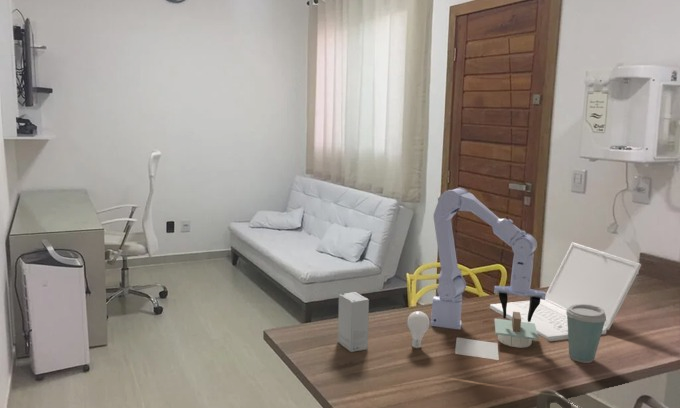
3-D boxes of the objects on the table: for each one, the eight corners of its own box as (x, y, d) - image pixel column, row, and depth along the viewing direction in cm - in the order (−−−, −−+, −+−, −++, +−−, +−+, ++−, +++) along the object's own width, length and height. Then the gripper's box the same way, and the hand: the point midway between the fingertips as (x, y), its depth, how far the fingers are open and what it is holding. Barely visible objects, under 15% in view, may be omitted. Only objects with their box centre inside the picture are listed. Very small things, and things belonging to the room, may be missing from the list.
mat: (454, 355, 161) (454, 353, 160) (456, 339, 172) (456, 337, 172) (498, 361, 158) (498, 360, 158) (497, 344, 169) (497, 343, 169)
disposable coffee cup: (580, 368, 156) (587, 316, 154) (552, 352, 166) (558, 303, 163) (608, 363, 160) (616, 313, 158) (579, 348, 170) (585, 300, 168)
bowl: (498, 346, 169) (499, 333, 168) (497, 333, 178) (498, 321, 177) (532, 350, 166) (533, 337, 166) (529, 338, 176) (530, 326, 175)
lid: (495, 334, 167) (497, 319, 166) (494, 320, 178) (495, 306, 178) (538, 340, 164) (540, 325, 163) (534, 325, 176) (536, 311, 175)
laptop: (489, 308, 201) (495, 245, 197) (566, 301, 214) (573, 241, 210) (548, 342, 174) (557, 270, 170) (632, 331, 187) (642, 263, 183)
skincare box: (368, 349, 161) (371, 299, 159) (349, 353, 158) (352, 302, 156) (353, 338, 168) (356, 290, 166) (335, 341, 165) (338, 292, 163)
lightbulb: (429, 345, 166) (432, 310, 164) (425, 354, 160) (428, 317, 158) (407, 341, 168) (410, 306, 166) (403, 350, 162) (405, 313, 160)
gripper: (496, 276, 166) (492, 320, 169) (548, 282, 163) (543, 327, 165) (496, 269, 173) (491, 312, 175) (546, 275, 170) (540, 318, 172)
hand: (516, 318), depth 171 cm, fingers open, 6 cm apart
